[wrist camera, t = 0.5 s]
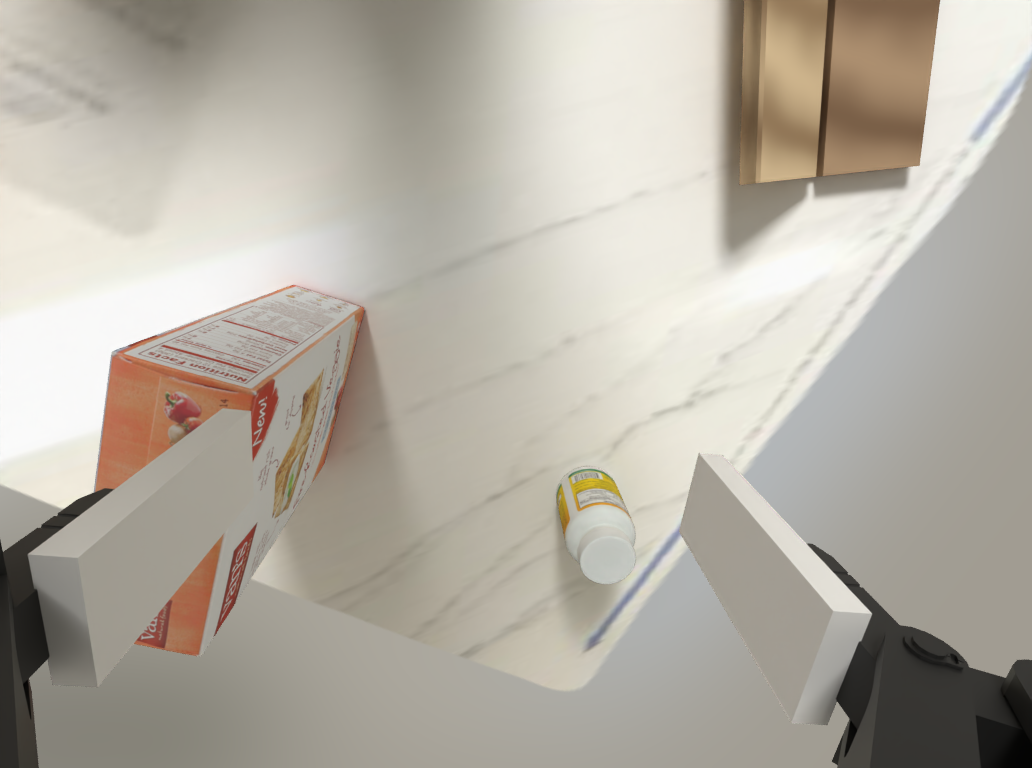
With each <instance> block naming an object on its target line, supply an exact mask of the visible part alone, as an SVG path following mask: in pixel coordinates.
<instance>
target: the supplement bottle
mask: <svg viewBox="0 0 1032 768" xmlns="http://www.w3.org/2000/svg"><path fill="white" fill-rule="evenodd" d="M556 498H557V504H558V509H559V514H560V519H561V523H562V528H563V533H564V538H565V543H566V546H567V549H568V551H569V553H570V554H571V556H572V557H573V558H574V559H575V560H576V561H577V562H578V563H579V564H580V568H581V570H582V572H583V573H584V575H585V576H586V577H587V578H588V579H590V580H591V581H593V582H596V583H599V584H613V583H617V582H619V581H621V580H623V579H625V578H626V577H627V576H628V575H629V574H630V573H631V571H632V570H633V568H634V566H635V561H636V555H635V551H634V548H633V546H634V543H635V528H634V525H633V522H632V520H631V517H630V515H629V513H628V511H627V508H626V506H625V504H624V502H623V499H622V497H621V495H620V493H619V490H618V488H617V486H616V483H615V482H614V480H613V478H612V477H611V476H610V475H609V474H608V473H607V472H605V471H604V470H602V469H600V468H596V467H590V466H586V467H580V468H577V469H574V470H572V471H570V472H569V473H568V474H566V475H565V476H564V477H563V478H562V480H561V481H560V483H559V485H558V488H557V495H556Z"/></svg>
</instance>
